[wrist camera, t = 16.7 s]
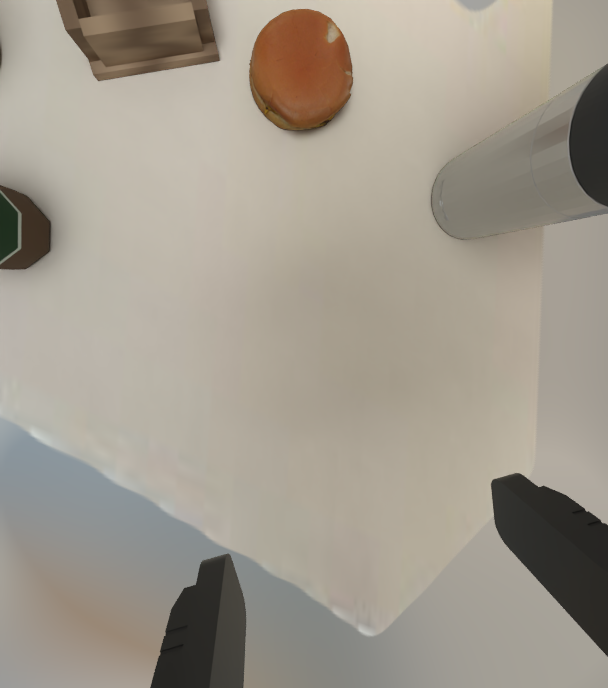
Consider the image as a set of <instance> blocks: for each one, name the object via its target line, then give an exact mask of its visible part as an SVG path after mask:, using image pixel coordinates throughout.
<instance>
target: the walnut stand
mask: <svg viewBox="0 0 608 688" xmlns="http://www.w3.org/2000/svg"><path fill="white" fill-rule="evenodd" d="M56 1H57V4H58V8H59V11H60V14H61V17H62V20H63V23H64V27H65V30H66V31H67V32H68V34H69V35H70V36H71V38H72V39H73V40H74V41H75V43H76V44H77V45H78V47H79V48H80V49H81V50H82V52H83V53H84V54H85V56H86V57H87V58H88V59H89V63H90V66H91V69H92V72H93V75H94V76H95V77H96V79H97V80H98V81H100V80H106V79H112V78H118V77H124V76H130V75H136V74H142V73H148V72H154V71H160V70H166V69H172V68H178V67H184V66H190V65H196V64H202V63H208V62H214V61H219V55H218V51H217V46H216V42H215V38H214V34H213V29H212V25H211V21H210V16H209V11H208V6H207V2H206V0H56Z"/></svg>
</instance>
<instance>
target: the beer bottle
mask: <svg viewBox="0 0 608 688" xmlns="http://www.w3.org/2000/svg"><path fill="white" fill-rule="evenodd" d="M49 228H50V222H49V221H48V220H47V219H46V217H45V216H44V215H43V214H42V213H41V212H40V211H39V210H38V208H37V207H36V206H35V205H34V204H33V203H32V202H31V200H30V199H29V198H28V197H27V196H26V195H24V194H21V193H19V192H17V191H15V190H12V189H9V188H7V187H4V186H1V185H0V269H26V268H27V267H29V266H30V265H31V264H33V263H34V262H35V261H37V260H38V259H39V258H41V257H42V256H43V255H45V254H46V253H47V252H49Z"/></svg>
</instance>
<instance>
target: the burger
mask: <svg viewBox="0 0 608 688" xmlns="http://www.w3.org/2000/svg"><path fill="white" fill-rule="evenodd" d="M250 62H251V63H250V64H249V65H250V71H249V72H250V75H249V78H250V86H251V91H252V94H253V97H254V100H255V102H256V103H257V105H258V107H259V109H260V110H261V111H262V112H263V113H264V115H265V116H266V117H267V118H268V119H269V120H271V121H272V122H273V123H274V124H275V125H276V126H278V127H279V128H282V129H288V130H305V129H312V128H316V127H321V126H324V125H326V124H327V123H328V122H329V121H331V119H332V118H333V116H334V115H335V114H336V113H337V112H338V111H339V110H340V109H341V108H342V107H343V106H344V105H345V103H346V102H347V101H348V99H349V98H350V96H351V94H350V90H351V87H352V84H353V77H352V63H351V58H350V53H349V48H348V45H347V42H346V40H345V38H344V35H343V34H342V32H341V31H340V29H339V28H338V27H337V26H336V24H335V23H334V22H333V21H332V19H331V18H329V17H327V16H326V15H324V14H322V13H321V12H318V11H314V10H310V9H298V10H290V11H287V12H283V13H281V14H280V15H279V16H277V17H276V18H274V19H272V20H271V21H270V22H269V23H268V24H267V25H266V26H265V27H264V28H263V29H262V30H261V32H260V33H259V35H258V37H257V39H256V42H255V44H254V48H253V51H252V57H251V60H250Z"/></svg>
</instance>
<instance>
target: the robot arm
mask: <svg viewBox="0 0 608 688" xmlns="http://www.w3.org/2000/svg"><path fill="white" fill-rule="evenodd" d="M432 208H433V213H434V216H435V218H436V220H437V222H438V224H439V225H440V226H441V228H442V229H443V230H444V231H445V232H447V233H448V234H449V235H451V236H453V237H455V238H459V239H475V238H480V237H485V236H491V235H497V234H502V233H508V232H513V231H518V230H524V229H529V228H534V227H539V226H545V225H550V224H555V223H561V222H566V221H571V220H577V219H582V218H587V217H591V216H597V215H602V214H607V213H608V64H606V65H605V66H603V67H602V68H600V69H598V70H597V71H595V72H593V73H592V74H590V75H589V76H587V77H585V78H584V79H582V80H580V81H579V82H577V83H576V84H574V85H572V86H571V87H569V88H568V89H566V90H564V91H563V92H562V93H560V94H558V95H557V96H555V97H553V98H552V99H550V100H549V101H547V102H545V103H544V104H542V105H540V106H539V107H537V108H536V109H534V110H532V111H531V112H529V113H527V114H526V115H524V116H523V117H521V118H519V119H518V120H516V121H514V122H513V123H511V124H510V125H508V126H506V127H505V128H503V129H501V130H500V131H498V132H497V133H495V134H493V135H492V136H490V137H488V138H487V139H485V140H484V141H482V142H480V143H479V144H477V145H475V146H474V147H472V148H470V149H469V150H467V151H466V152H464V153H462V154H461V155H459V156H457V157H456V158H454V159H453V160H451V161H450V162H449V163H447V164H446V165H445V167H444V168H443V169H442V170H441V171H440V173H439V175H438V177H437V178H436V181H435V184H434V186H433V191H432ZM491 489H492V499H493V509H494V519H495V525H496V528H497V530H498V533H499V535H500V536H501V538H502V540H503V542H504V543H505V544H506V545H507V546H508V548H509V549H510V550H511V551H512V552H513V553H514V554H515V555H516V557H517V558H518V559H519V560H520V561H521V562H522V563H523V564H524V565H525V566H526V567H527V569H528V570H529V571H531V573H532V574H533V575H534V576H535V577H536V578H537V579H538V581H539V582H540V583H541V584H542V585H543V586H544V587H545V588H546V589H547V591H548V592H549V593H550V594H551V595H552V596H553V597H554V598H555V599H556V600H557V601H558V603H559V604H560V605H561V606H562V607H563V608H564V609H565V610H566V611H567V613H568V614H570V616H571V617H572V618H573V619H574V620H575V621H576V622H577V623H578V625H579V626H580V627H581V628H582V629H583V630H584V631H585V632H586V633H587V634H588V635H589V637H590V638H591V639H592V640H593V641H594V642H595V643H596V644H597V646H598V647H599V648H600V649H601V650H602V651H603V652H604V653H605V654H606V655H607V656H608V525H607V524H605V523H602V522H601V520H600V519H598V518H597V517H596V516H594V515H593V514H591V513H590V512H586V511H585V509H584V508H583V507H581V506H580V505H579V504H577V503H576V502H575V501H573V500H572V499H570V498H569V497H568V496H566V495H564V494H562V493H560V492H557V491H555V490H552V489H550V488H548V487H545V486H542V487H538V486H536V485H535V484H534V483H532V482H531V481H530V480H528V479H527V478H526V477H525V476H523V475H522V474H519V473H515V474H511V475H508V476H504V477H501V478H497V479H494V480H493V481H492V483H491ZM245 610H246V609H245V603H244V597H243V593H242V590H241V587H240V584H239V580H238V577H237V574H236V571H235V568H234V565H233V561H232V559H231V556H230V555H229V554H225V555H221V556H218V557H214V558H211V559H207V560H204V561H202V562H201V564H200V568H199V573H198V578H197V583H196V585H194V586H191V587H187V588H184V589H183V591H182V593H181V594H180V596H179V598H178V599H177V601H176V603H175V604H174V606H173V607H172V609H171V613H170V617H169V621H168V624H167V628H166V636H164V639H163V643H162V646H161V650H160V652H161V654H160V656H159V658H158V662H157V666H156V669H155V672H154V676H153V680H152V684H151V687H150V688H243V682H244V658H245V636H246V611H245Z"/></svg>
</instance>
